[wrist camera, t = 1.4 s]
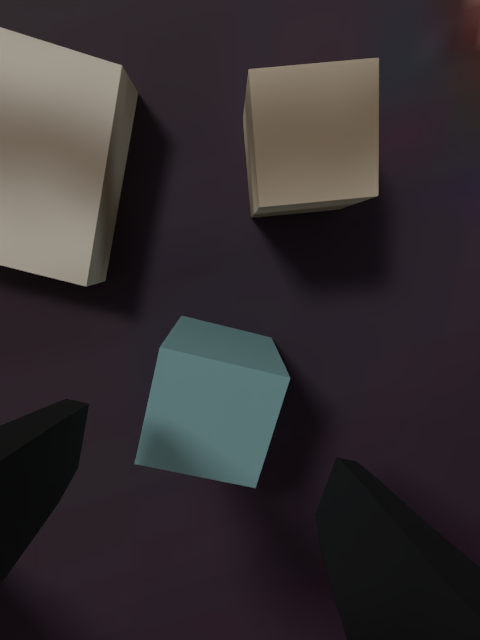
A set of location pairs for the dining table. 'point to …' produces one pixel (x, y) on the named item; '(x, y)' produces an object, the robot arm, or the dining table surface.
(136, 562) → the dining table surface
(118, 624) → the dining table surface
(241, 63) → the dining table surface
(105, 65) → the birch slab
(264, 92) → the block
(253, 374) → the teal cube
